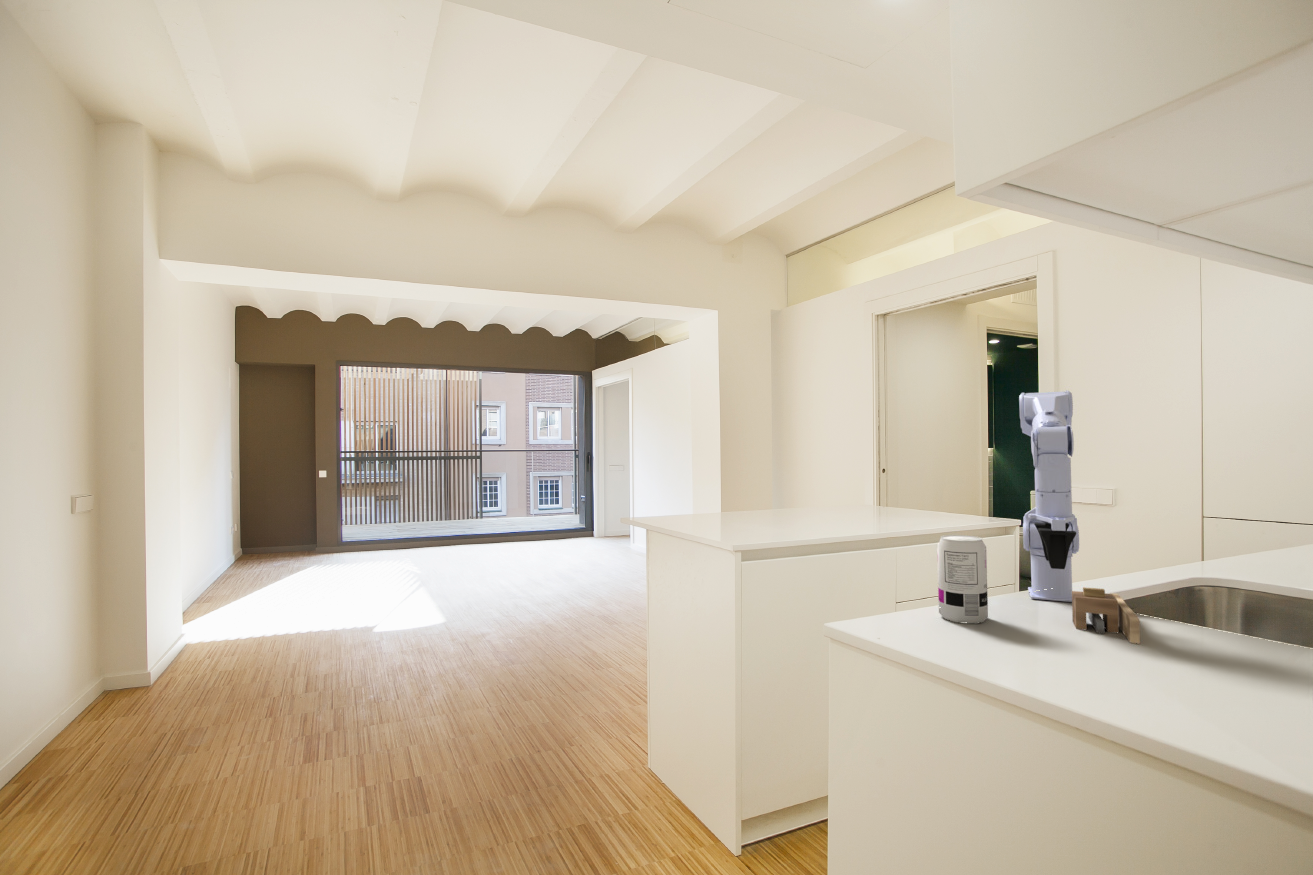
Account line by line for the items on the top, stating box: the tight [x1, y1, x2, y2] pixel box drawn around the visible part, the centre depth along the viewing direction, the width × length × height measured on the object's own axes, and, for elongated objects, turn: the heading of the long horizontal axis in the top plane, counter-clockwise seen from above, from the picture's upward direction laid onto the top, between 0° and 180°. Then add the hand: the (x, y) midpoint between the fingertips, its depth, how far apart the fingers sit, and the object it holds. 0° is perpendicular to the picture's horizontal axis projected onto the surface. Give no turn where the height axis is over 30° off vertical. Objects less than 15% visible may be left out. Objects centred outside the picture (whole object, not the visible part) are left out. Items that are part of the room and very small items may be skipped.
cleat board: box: [1087, 592, 1141, 645], centre depth 110 cm, size 18×5×4 cm, turn 152°
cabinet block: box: [1071, 586, 1119, 634], centre depth 110 cm, size 5×6×7 cm
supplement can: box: [936, 534, 989, 624], centre depth 117 cm, size 8×8×15 cm
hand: (1055, 564), depth 116 cm, fingers open, 7 cm apart
